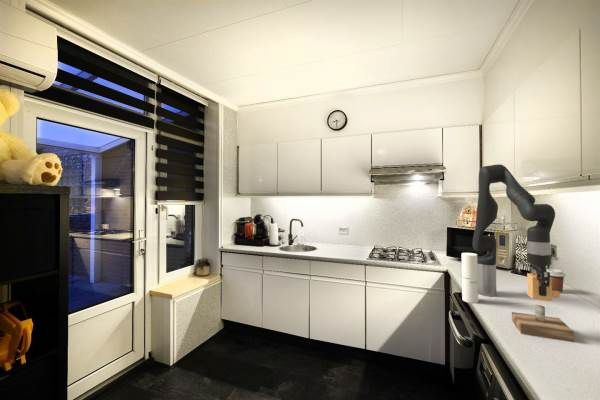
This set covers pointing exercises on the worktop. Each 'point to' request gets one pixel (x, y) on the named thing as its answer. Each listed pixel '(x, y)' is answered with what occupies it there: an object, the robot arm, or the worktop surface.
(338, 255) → the worktop surface
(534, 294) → the peach foam cube
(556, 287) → the coffee cup
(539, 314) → the brown slab
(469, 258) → the cylindrical container
